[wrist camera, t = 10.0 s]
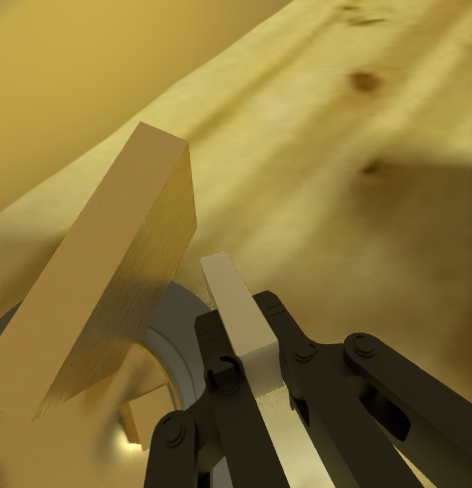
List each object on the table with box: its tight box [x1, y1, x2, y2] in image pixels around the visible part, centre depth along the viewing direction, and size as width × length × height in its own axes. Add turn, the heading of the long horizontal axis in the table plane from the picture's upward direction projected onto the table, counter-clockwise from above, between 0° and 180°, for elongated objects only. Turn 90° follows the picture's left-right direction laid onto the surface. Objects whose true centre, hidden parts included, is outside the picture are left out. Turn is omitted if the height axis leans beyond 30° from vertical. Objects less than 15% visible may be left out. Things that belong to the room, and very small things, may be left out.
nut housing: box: [0, 281, 233, 488], centre depth 19 cm, size 22×22×5 cm
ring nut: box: [0, 121, 197, 488], centre depth 12 cm, size 22×13×11 cm, turn 157°
